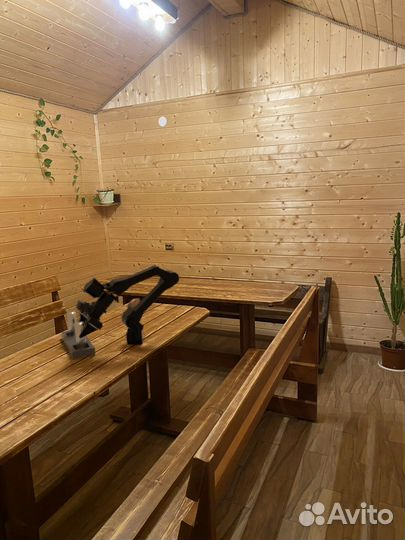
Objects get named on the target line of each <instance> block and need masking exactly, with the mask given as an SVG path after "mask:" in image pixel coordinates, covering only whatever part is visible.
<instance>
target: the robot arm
mask: <svg viewBox="0 0 405 540" xmlns="http://www.w3.org/2000/svg"><path fill="white" fill-rule="evenodd" d="M155 276H157V277H159V279H158V282H157V284H156V285H155V286H154V287H152V289H150V291H148V293H147V294H146V295H145V296H144V297H143V298H142V299H140V300H141V301H140V302H139V304H138V305H137V306H135V307H133V308H131V307H130V306H129V307H128V308H126V310H125V311H123V312H122V315H121V323H122V324H123V325H125V327H126V328H127V331H126V333H125V335H126V337H125V338H126V343H127V345H142V344H143V341H144V337H143V331H144V327H145V326H144V324H142V323H141V320H142V318H143V315H144V314H145V312H146V311H147V310H149V308H150V307H151V306H152V305H153V304H154V303H155V302H157V300H158V299H159V298H160V297H161V296H162V295H163V294H164V293H165V291H167V290H169V289H172V288H173V287H174V286H176V285H177V284H178V283H179V281H180V276H179V274H178V273H177V272H175V271H173V270H168V269H167V270H165V269H162V268H161V267H160V266H158V265H154V264H153V265H151V266H150V267H147V268H145V269H143V270H140V271H138V272H135V273H133V274H131V275H128V276H122V277H116V278H113V279H111V280H110V281H108V282H106V283H101V282H100V281H99V280H98V279H96V277H93V278H92V279H90V280H89V281H88V282H86V283H85V285H84V286H83V289H82V291H83V292H85V293H86V294H87V295H89V296H90V297H92V298H93V299H96V298H97V299H96V300H95V301H92V302H90V303H89V302H87V301H83V300H80V299H79V300H78V301H77V303H76V306H75V308H76V309H77V310H78V311H79V313H78V314H79V319H78V320H77V322H85V327H84V329H83V330H82V332H81V334H80V335H79V338H83V337H85V336H88V335H90V334H93V333H94V332H98V331H100V330H101V329H102V328H103V327H104V324H103V322H102V321H101V317H102V316H103V315H104V314H107V310H108V309H109V308H110V306H111V305H112V304H113V303H114V302H116V303H118V304H119V303H120V300H119V298H120V297H119V295H122V294H123V293H125V292H127V290H129V289H130V288H131V287H132V286H134V285H136V284H139V283H142V282H144V281H145V280H146V281H147V280H148V279H151V278H153V277H155ZM114 294H115V295H114Z"/></svg>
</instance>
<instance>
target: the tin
mask: <svg viewBox="0 0 405 540" xmlns="http://www.w3.org/2000/svg"><path fill="white" fill-rule="evenodd" d="M141 300H142V299H141V298H140V297H138V298H133V299H131V300H130V301H129V302H128V304H127V308H128V307H129V306H130V307H131V308H133V307H135V306H137V305H138V304H139V302H140V301H141ZM127 308H126V309H127Z"/></svg>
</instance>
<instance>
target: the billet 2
mask: <svg viewBox="0 0 405 540" xmlns="http://www.w3.org/2000/svg"><path fill="white" fill-rule="evenodd" d="M84 327H85V322H78V321H77V322H76V323H75V335H76V345H77V350H78V349H83V348H87V344H86V336H87V335H86V336H85V337H83V338H79V335H80V334H81V332H82V330H83V329H84Z"/></svg>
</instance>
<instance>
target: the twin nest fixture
mask: <svg viewBox="0 0 405 540" xmlns="http://www.w3.org/2000/svg"><path fill="white" fill-rule="evenodd" d="M61 339H62V342H63V344H64V345H65V347H66V349H67V350H68V352H69V355H70V356H71V359H72V360H76V359H81V358H86V357H91V356H95V355H96V348H95V346H94V345H93V343H92V342H91V340H90V339H89V338H88V335H86V344H87V348H83V349H78V350H77V345H76V335H75V336H69V332H68V330H66V331H61Z"/></svg>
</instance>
